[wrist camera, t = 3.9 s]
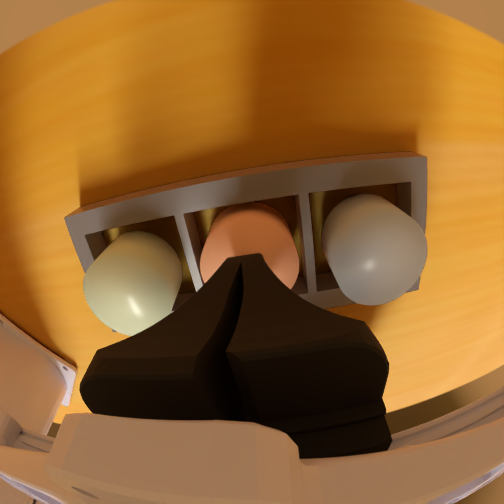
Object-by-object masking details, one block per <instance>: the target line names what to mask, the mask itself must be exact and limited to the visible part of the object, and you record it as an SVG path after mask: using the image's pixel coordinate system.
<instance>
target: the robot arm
mask: <svg viewBox="0 0 504 504" xmlns="http://www.w3.org/2000/svg"><path fill="white" fill-rule="evenodd" d="M388 373H389V362H388V360H387V357H386V354H385V352H384V350H383V348H382V346H381V344H380V343H379V341H378V340H377V338H376V337H375V336H374V334H373V333H372V331H371V330H370V329H369V327H368V326H367V325H366V323H365V322H364V321H360V320H356V319H352V318H348V317H345V316H341V315H338V314H335V313H332V312H330V311H327V310H324V309H322V308H320V307H318V306H315V305H314V304H312V303H310V302H308V301H306V300H304V299H303V298H301V297H300V296H298V295H297V294H296V293H294V292H293V291H292V290H291V289H289V288H288V287H287V286H286V285H285V284H284V283H283V282H282V281H281V280H280V279H279V278H278V277H277V276H276V275H275V274H274V272H273V271H272V270H271V269H270V268H269V266H268V265H267V263H266V262H265V260H264V258H263V255H262V254H261V253H254V254H248V255H241V256H235V257H228V258H227V259H226V260H225V261H224V262H223V263H222V264H221V266H220V267H219V268H218V269H217V270H216V272H215V273H214V274H213V275H212V276H211V277H210V278H209V280H208V281H207V282H206V283H205V284H204V285H203V286H202V287H201V288H200V289H199V290H198V291H197V292H196V293H195V294H194V295H193V296H192V297H191V298H190V299H188V300H187V301H186V302H185V303H184V304H183V305H181V306H180V307H179V308H177V309H176V310H175V311H174V312H172V313H171V314H169V315H168V316H166V317H165V318H163V319H162V320H160V321H158V322H157V323H155V324H154V325H152V326H150V327H149V328H147V329H145V330H143V331H141V332H139V333H137V334H135V335H133V336H131V337H129V338H127V339H125V340H122V341H120V342H117V343H115V344H112V345H109V346H107V347H104V348H102V349H99V350H97V351H96V353H95V355H94V357H93V359H92V361H91V363H90V365H89V367H88V369H87V371H86V373H85V375H84V377H83V379H82V381H81V383H80V393H81V396H82V399H83V401H84V402H85V404H86V405H87V407H88V408H89V409H90V411H91V412H92V413H75V414H66V415H65V417H64V419H63V422H62V424H61V426H60V428H59V431H58V433H57V436H56V438H52V437H49V436H46V435H47V433H48V431H49V428H50V426H51V424H52V422H53V420H54V417H55V415H56V413H57V411H58V409H59V407H60V405H61V404H63V405H64V406H69V404H70V399H71V395H72V391H73V386H74V382H75V378H76V374H77V369H76V368H75V367H74V366H73V365H71V364H69V363H68V362H66V361H65V360H63V359H62V358H60V357H58V356H57V355H55V354H54V353H52V352H51V351H49V350H48V349H47V348H45V347H44V346H42V345H41V344H39V343H38V342H37V341H35V340H34V339H32V338H31V337H30V336H28V335H27V334H26V333H24V332H23V331H22V330H20V329H19V328H18V327H16V326H15V325H14V324H13V323H11V322H10V321H9V320H8V319H7V318H5V317H4V316H3V315H2V314H1V313H0V504H453V503H455V502H457V501H459V500H461V499H462V498H464V497H466V496H468V495H469V494H471V493H473V492H474V491H476V490H478V489H480V488H481V487H483V486H485V485H486V484H488V483H489V482H491V481H492V480H494V479H495V478H497V477H498V476H500V475H501V474H503V473H504V386H503V387H501V388H499V389H497V390H496V391H494V392H492V393H490V394H488V395H487V396H485V397H483V398H481V399H479V400H477V401H475V402H473V403H471V404H469V405H467V406H465V407H462V408H460V409H458V410H456V411H454V412H451V413H449V414H447V415H444V416H442V417H440V418H437V419H435V420H432V421H430V422H427V423H424V424H422V425H419V426H416V427H413V428H410V429H408V430H405V431H402V432H398V433H395V434H392V435H391V434H390V431H389V428H388V425H387V422H386V419H385V416H384V415H385V414H386V407H385V405H384V402H383V399H382V396H383V393H384V389H385V385H386V381H387V377H388Z"/></svg>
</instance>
